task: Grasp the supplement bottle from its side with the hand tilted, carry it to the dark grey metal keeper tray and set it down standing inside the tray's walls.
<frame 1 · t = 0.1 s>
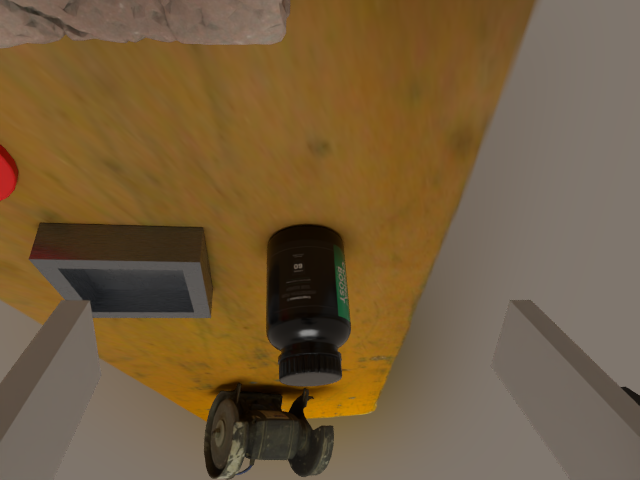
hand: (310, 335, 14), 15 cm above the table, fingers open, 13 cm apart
supplement bottle: (305, 241, 41), on the table
keeper tray: (139, 261, 42), on the table
bench grinder: (262, 388, 92), on the table
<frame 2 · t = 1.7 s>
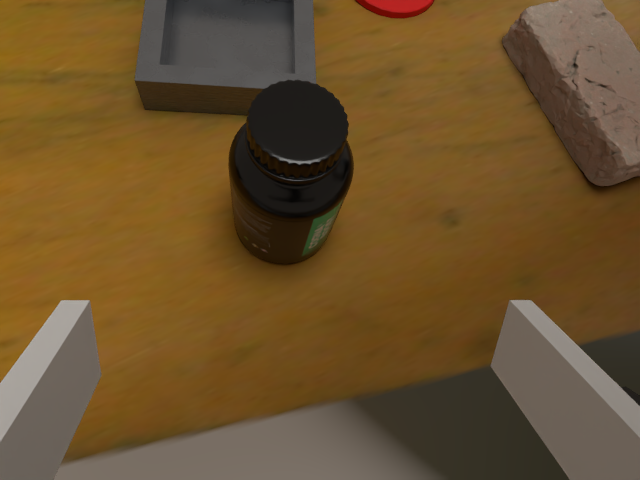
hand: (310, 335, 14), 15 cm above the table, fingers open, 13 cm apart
supplement bottle: (282, 221, 32), on the table
brick: (573, 105, 41), on the table
keeper tray: (232, 49, 37), on the table
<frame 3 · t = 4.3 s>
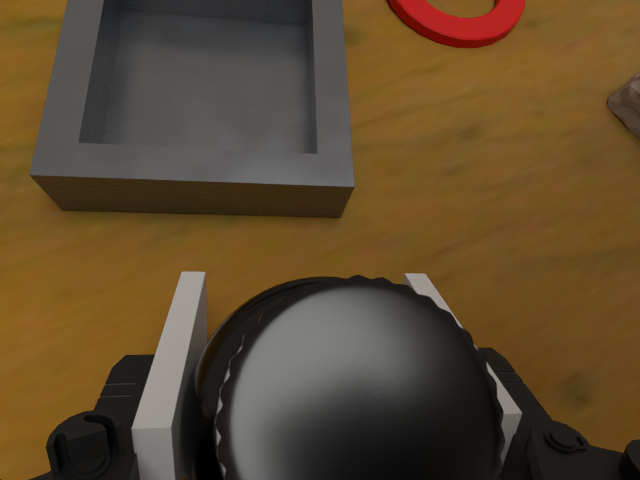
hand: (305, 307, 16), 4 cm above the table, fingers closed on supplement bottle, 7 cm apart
supplement bottle: (296, 413, 18), on the table, touching gripper
keeper tray: (214, 102, 23), on the table
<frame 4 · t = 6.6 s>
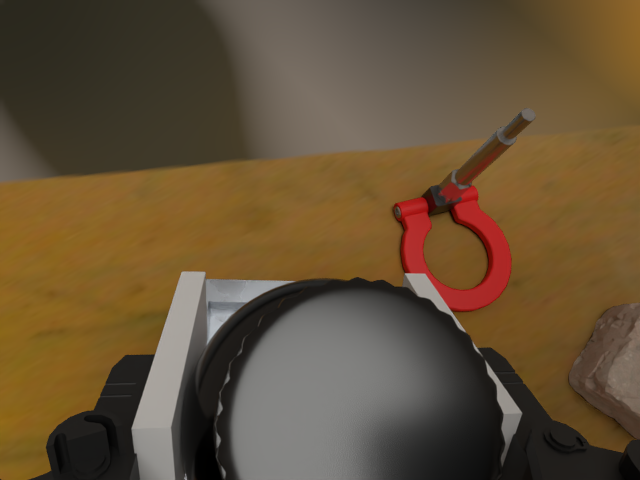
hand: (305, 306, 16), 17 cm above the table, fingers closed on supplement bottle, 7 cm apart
supplement bottle: (296, 415, 18), point 13 cm above the table, touching gripper
keeper tray: (277, 380, 31), on the table
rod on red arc: (450, 252, 37), on the table
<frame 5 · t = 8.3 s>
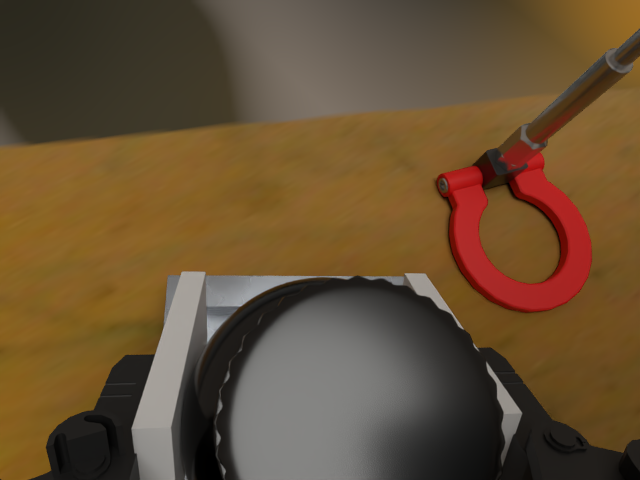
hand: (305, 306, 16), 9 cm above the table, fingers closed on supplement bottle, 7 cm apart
supplement bottle: (296, 414, 18), point 5 cm above the table, touching gripper
keeper tray: (295, 410, 23), on the table
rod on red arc: (510, 236, 29), on the table
when the fingers open (6 cm above the table, at t = 9.3 s): supplement bottle drops 1 cm, resting on keeper tray.
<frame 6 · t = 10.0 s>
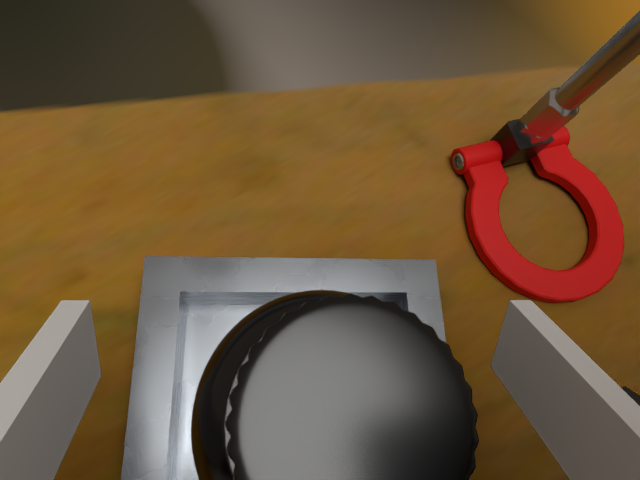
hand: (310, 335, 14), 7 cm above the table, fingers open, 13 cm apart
supplement bottle: (294, 415, 20), point 1 cm above the table, touching keeper tray
keeper tray: (292, 413, 20), on the table
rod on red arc: (532, 219, 26), on the table
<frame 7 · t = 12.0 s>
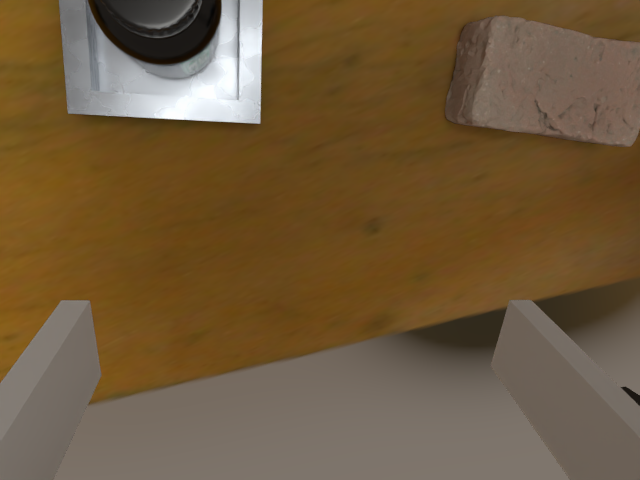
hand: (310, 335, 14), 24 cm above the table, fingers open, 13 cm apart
supplement bottle: (169, 28, 32), point 1 cm above the table, touching keeper tray
brick: (530, 89, 41), on the table
keeper tray: (170, 29, 32), on the table
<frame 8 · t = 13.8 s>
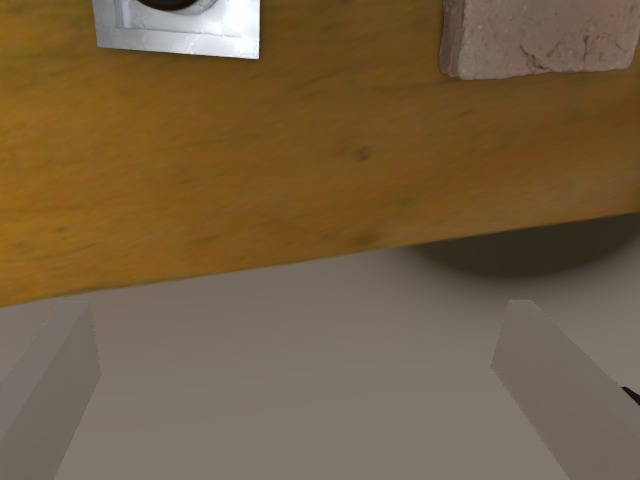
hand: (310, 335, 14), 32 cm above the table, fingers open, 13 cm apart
brick: (524, 25, 42), on the table
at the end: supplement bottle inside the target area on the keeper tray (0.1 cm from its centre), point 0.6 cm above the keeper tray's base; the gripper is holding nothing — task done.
